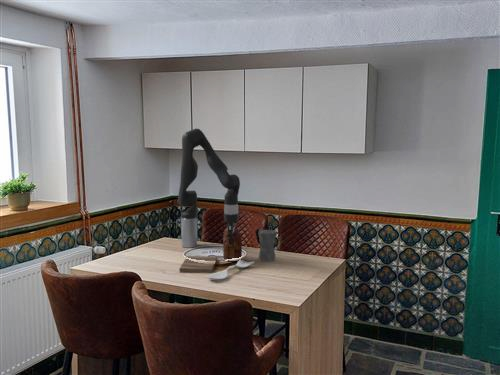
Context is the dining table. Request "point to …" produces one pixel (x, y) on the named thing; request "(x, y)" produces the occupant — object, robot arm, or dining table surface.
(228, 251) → the wooden figurine
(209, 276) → the spoon
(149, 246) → the dining table surface
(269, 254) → the coffeepot
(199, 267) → the walnut board
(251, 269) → the dining table surface
